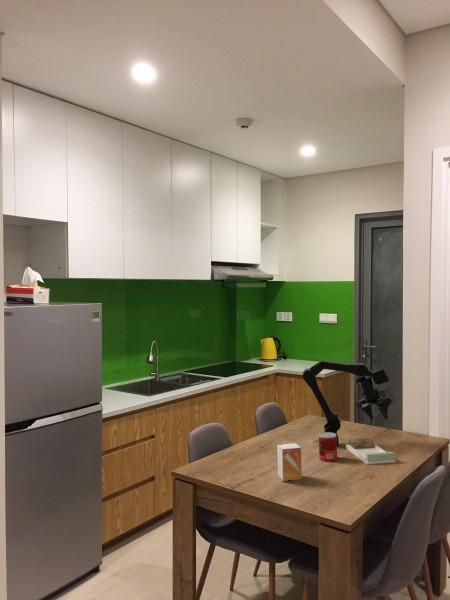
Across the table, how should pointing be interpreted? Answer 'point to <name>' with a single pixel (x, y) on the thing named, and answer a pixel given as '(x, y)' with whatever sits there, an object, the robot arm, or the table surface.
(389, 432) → the table surface
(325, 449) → the canned food
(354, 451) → the track
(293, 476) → the small box
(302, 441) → the table surface
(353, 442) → the block
